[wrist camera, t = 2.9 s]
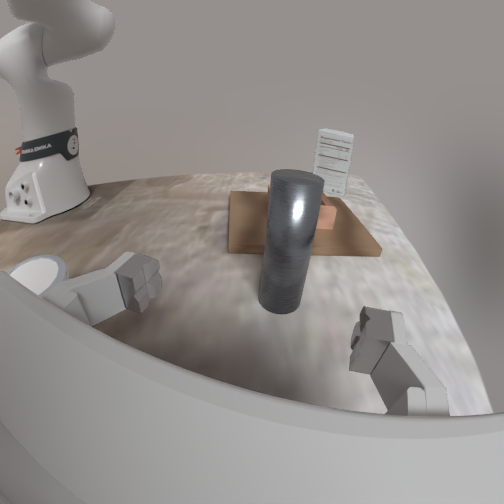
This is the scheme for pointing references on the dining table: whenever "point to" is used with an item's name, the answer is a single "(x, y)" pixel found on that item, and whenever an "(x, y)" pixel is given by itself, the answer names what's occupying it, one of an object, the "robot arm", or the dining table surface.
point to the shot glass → (40, 273)
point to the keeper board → (326, 236)
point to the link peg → (289, 238)
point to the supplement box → (333, 159)
